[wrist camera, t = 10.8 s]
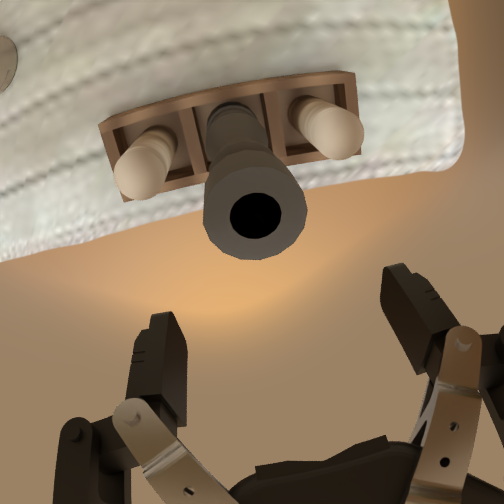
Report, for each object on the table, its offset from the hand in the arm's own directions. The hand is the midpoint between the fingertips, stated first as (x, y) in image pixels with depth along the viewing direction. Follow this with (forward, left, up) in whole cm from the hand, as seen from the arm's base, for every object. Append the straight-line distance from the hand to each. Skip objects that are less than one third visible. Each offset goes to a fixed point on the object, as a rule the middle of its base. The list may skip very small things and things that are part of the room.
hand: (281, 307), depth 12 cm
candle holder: (0, 0, -32) cm, 32 cm away
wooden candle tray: (0, 0, -33) cm, 33 cm away
